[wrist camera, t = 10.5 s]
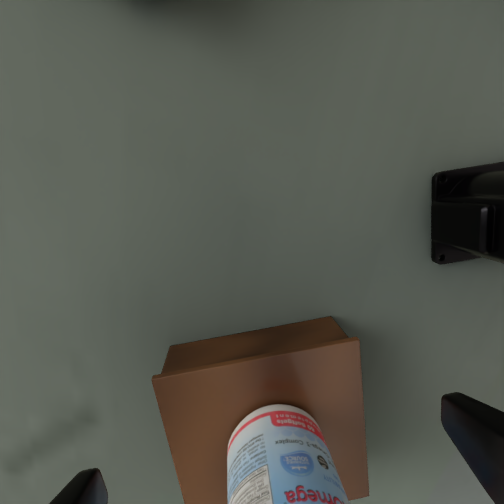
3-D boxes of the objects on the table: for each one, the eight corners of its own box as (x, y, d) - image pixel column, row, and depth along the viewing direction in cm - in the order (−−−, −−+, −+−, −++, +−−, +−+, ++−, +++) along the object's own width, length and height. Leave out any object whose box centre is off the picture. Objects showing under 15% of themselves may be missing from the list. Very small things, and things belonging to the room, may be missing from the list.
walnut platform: (334, 311, 21) (359, 339, 17) (346, 446, 24) (369, 496, 20) (164, 342, 20) (151, 379, 17) (198, 478, 23) (193, 536, 20)
